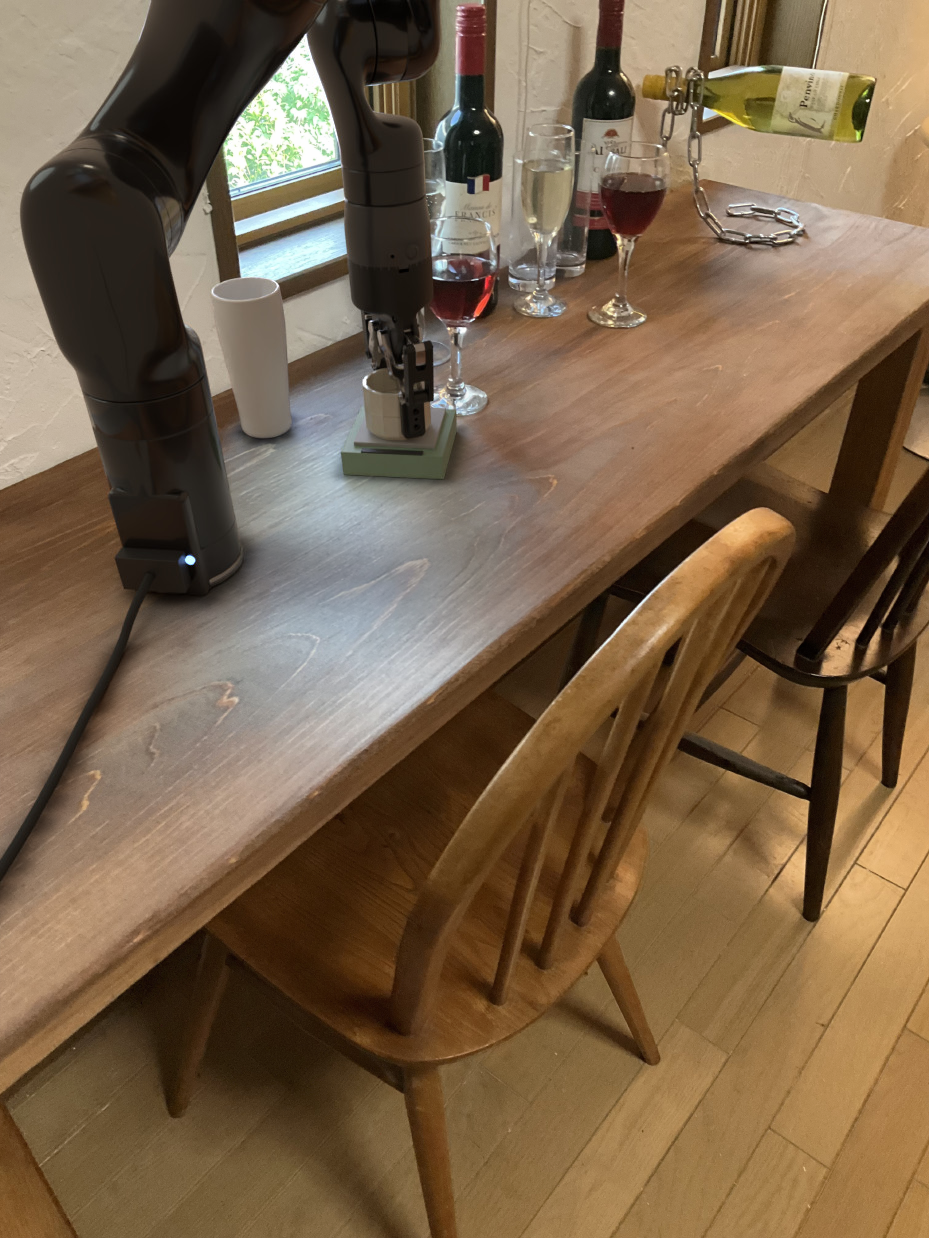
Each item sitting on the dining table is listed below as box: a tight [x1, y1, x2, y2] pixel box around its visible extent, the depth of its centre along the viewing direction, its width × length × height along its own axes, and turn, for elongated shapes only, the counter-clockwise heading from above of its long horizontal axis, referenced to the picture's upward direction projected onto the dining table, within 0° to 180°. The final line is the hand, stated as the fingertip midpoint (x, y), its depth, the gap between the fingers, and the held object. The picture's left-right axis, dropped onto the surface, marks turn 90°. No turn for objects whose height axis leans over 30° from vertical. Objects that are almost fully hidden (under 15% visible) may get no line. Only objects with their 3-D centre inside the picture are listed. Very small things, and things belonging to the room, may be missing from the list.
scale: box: [340, 405, 458, 480], centre depth 97 cm, size 10×10×3 cm
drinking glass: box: [210, 276, 293, 439], centre depth 97 cm, size 7×7×15 cm
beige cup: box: [362, 366, 432, 441], centre depth 94 cm, size 6×6×5 cm
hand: (401, 420), depth 95 cm, fingers closed on beige cup, 6 cm apart
